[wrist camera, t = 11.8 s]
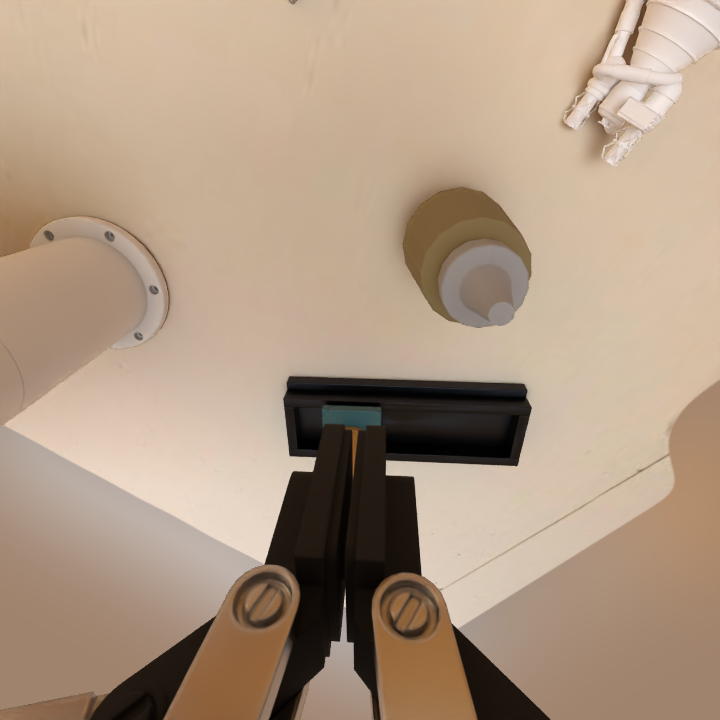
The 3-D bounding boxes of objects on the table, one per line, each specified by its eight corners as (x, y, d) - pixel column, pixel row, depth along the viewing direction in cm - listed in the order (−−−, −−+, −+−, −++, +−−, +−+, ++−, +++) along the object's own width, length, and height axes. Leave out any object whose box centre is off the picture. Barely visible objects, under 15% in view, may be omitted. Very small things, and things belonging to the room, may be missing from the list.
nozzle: (329, 450, 44) (317, 513, 37) (326, 391, 41) (312, 447, 33) (379, 452, 44) (378, 516, 37) (381, 392, 40) (380, 449, 33)
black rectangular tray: (295, 443, 46) (290, 462, 43) (289, 376, 42) (282, 392, 39) (508, 452, 45) (516, 472, 42) (524, 383, 40) (533, 400, 38)
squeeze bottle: (467, 295, 36) (527, 410, 21) (386, 259, 35) (383, 353, 20) (517, 208, 33) (637, 268, 17) (428, 165, 32) (466, 188, 16)
